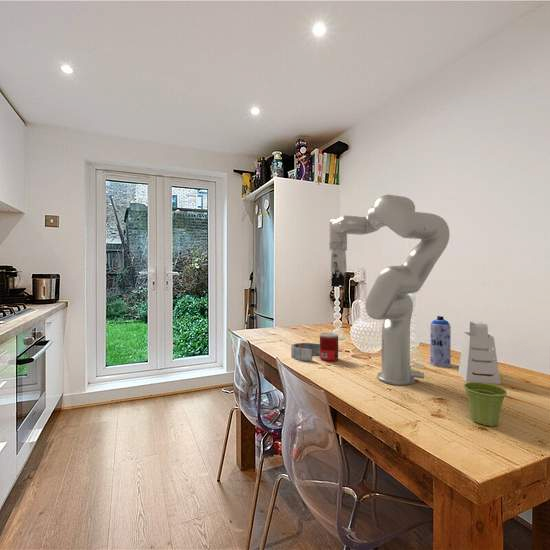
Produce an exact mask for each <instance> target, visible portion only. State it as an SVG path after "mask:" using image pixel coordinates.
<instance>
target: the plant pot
mask: <svg viewBox="0 0 550 550" xmlns="http://www.w3.org/2000/svg"><path fill="white" fill-rule="evenodd" d="M463 388H464V390H465V393H466V395H467V400H468V401H467V402H468V408H469V416H470V420H471V419H472V420H473V421H472V420H471V421H472V422H474V421H475V422H474V423H476V422H477V423H476V424H481V425H483V426H485V425H497V426H498V424H499V422H500V418H501V417H500V416H501V411H502V408H503V407H502V406H503V401H504V400H505V396H507V394H508V392H507V390H506V389H504V388H503V387H500V386H497V385H496V384H495V385H494V384H492V383H480V382H466V383H463Z"/></svg>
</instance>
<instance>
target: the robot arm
mask: <svg viewBox="0 0 550 550" xmlns="http://www.w3.org/2000/svg"><path fill="white" fill-rule="evenodd" d="M384 227H386V228H387V227H388V228H389V229H390V230H391V231H392V232H393V233H395V234H396V235H397V236H400V238H403V239H412V240H416V239H417V240H420V242H419V243H417V245H415V247H413V248H412V249H411V251H410V252H409V253H408V256H407V257H406V259H405V261H404V262H403V264H401V265H391V266H387V267H385V268H384V269H382V270H381V272H380V273H379V274H378V276H377V277H376V279H375V281H374V283H373V285H372V287H371V289H370V291H369V293H368V295H367V297H366V301H365V307H364V308H365V312H366V314H367V316H368V317H369V318H371V319H373V320H377V321H382V320H383V323H382V327H381V371H379V372H377V375H376V377H377V379H378V380H379V381H380V382H382V383H385V384H390V385H395V386H397V385H398V386H405V385H406V386H407V385H412V384H413V383H415V379H416V378H418V379H424V378H425V375H424V374H425V373H424V372H421V371H420V370H414V369H412V366H411V321H412V315H413V310H414V302H413V299H412V298H411V296H410V295H409V294H415V293H417V292H419V291H420V290H421V288H422V287H423V286H424V283H425V282H426V280H427V279H428V277H429V276H430V274H431V272H432V270H433V269H434V266H435V265H436V264H437V262H438V261H439V259H440V258H441V256H442V254H443V253H444V251H445V249H446V248H447V246H448V244H449V242H450V241H449V240H450V228H449V225H448V223H447V221H446V220H445V219H444V218H443V217H441V216H439V215H438V214H435V213H429V212H423V211H422V212H421V211H416V205H415V203H414V202H413V200H412V199H411V198H409V197H407V196H400V195H394V194H384V195H382V196H380V197H379V198H377V200H376V201H375V203H374V205H372V206H371V207H370V208H369V209H368V212H367V215H366V216H357V215H342V216H340V217H336V218H331V219H330V220H329V251H330V253H331V254H330V271H331V280H330V281H331V285H330V287H332V288H339V287H340V286H342V287H343V286H345V274H346V273H347V254H346V253H347V252H346V251H348V235H358V236H359V235H361V236H362V235H367V234H371V233H375V232H378V231H379V230H380V229H381V228H384Z"/></svg>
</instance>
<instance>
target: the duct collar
mask: <svg viewBox="0 0 550 550" xmlns="http://www.w3.org/2000/svg"><path fill="white" fill-rule="evenodd" d="M290 347H291V352H290V353H291V354H290V355H291V358H292V359H294V360H298V361H305V362H313V356H320V343H314V342H296V343H293V344H291V346H290ZM312 354H314V355H312Z"/></svg>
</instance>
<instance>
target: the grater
mask: <svg viewBox="0 0 550 550" xmlns="http://www.w3.org/2000/svg"><path fill="white" fill-rule="evenodd" d="M488 330H489V327H488V324H487V323H485V322H484V321H470V322H469V331H468V332H466V331H465V332H463V337H462V345H461V346H462V347H461V352H460V353H461V354H460V359H459V366H458V371H457V372H458V374H459V375H460V376H461V377H462V378H463V380H464V381H465V382H466V383H469V382H480V383H487V384H493V385H494V384H495V385H496V384H497V385H501V379H500V377H501V376H500V372H499V365H498V364H499V363H498V359H497V358H498V357H497V352H496V351H497V350H496V342H495V337H494V336H492V335H491V334H489V331H488ZM475 374H477V375H475ZM486 375H487V376H486ZM488 375H490V376H488Z"/></svg>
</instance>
